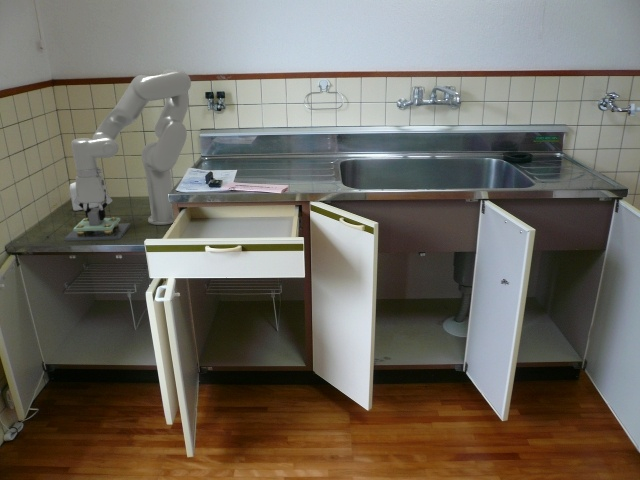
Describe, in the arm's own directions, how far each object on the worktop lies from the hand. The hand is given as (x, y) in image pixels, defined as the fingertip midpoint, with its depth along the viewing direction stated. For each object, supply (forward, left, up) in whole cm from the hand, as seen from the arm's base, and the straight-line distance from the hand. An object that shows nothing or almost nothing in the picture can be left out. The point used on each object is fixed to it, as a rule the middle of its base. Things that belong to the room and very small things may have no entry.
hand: (96, 218), depth 201 cm
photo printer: (+16, -31, -6) cm, 35 cm away
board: (0, 0, -3) cm, 3 cm away
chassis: (0, 0, -6) cm, 6 cm away
